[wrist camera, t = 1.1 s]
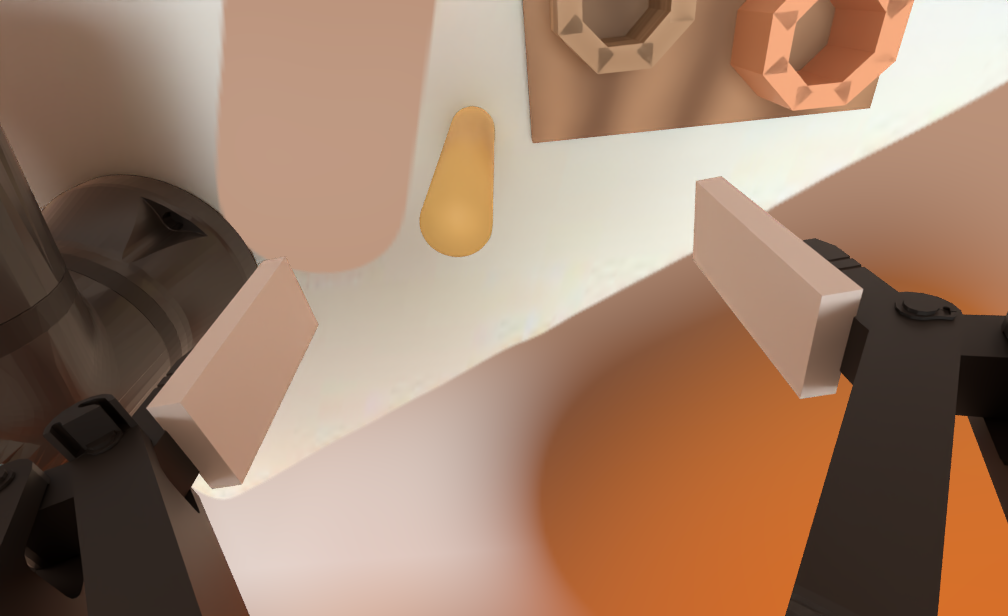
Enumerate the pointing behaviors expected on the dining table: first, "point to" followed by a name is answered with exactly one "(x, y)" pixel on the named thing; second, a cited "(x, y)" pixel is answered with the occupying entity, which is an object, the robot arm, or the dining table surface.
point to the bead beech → (633, 51)
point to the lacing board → (657, 74)
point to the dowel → (462, 187)
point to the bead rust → (836, 68)
